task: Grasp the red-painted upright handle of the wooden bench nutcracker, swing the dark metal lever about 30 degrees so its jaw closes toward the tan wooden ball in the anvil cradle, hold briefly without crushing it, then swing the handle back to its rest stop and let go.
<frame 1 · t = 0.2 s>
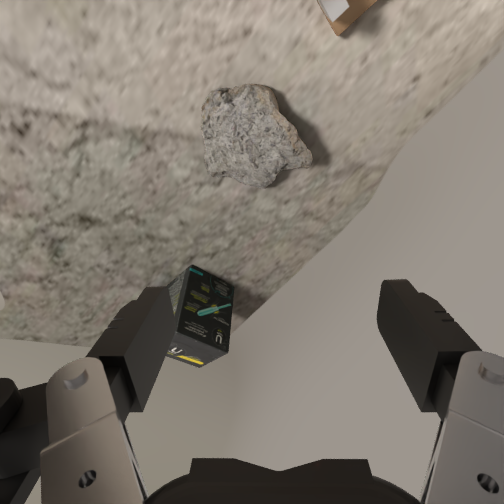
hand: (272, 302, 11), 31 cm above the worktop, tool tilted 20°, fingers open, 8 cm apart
tampon box: (201, 285, 61), on the worktop
rock: (254, 139, 39), on the worktop
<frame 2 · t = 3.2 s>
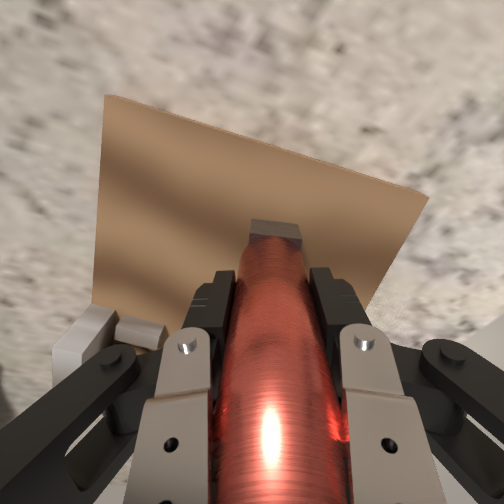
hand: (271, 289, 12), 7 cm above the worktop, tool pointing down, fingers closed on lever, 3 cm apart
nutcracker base: (225, 304, 21), on the worktop
lever: (240, 440, 13), point 9 cm above the worktop, hinge at 9.9°, touching gripper
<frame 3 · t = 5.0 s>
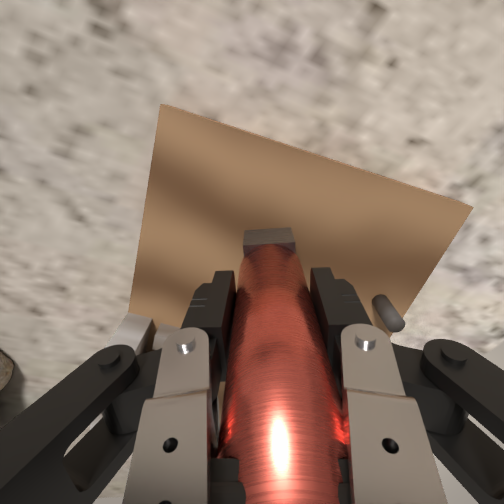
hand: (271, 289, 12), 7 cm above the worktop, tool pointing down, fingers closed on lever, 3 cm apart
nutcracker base: (260, 312, 21), on the worktop
lever: (270, 451, 13), point 9 cm above the worktop, hinge at 21.5°, touching gripper
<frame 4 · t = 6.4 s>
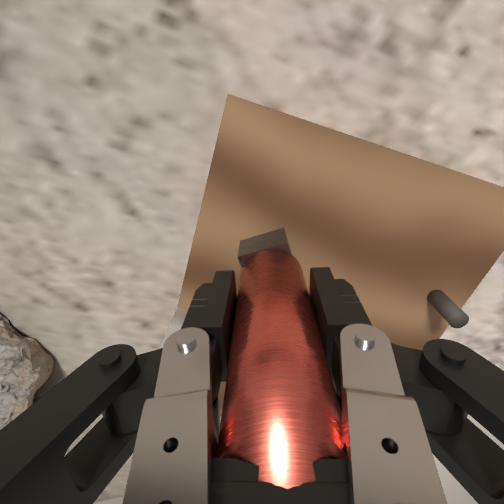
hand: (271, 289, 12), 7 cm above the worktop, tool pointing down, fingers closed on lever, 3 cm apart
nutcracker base: (308, 308, 20), on the worktop
lever: (309, 453, 13), point 9 cm above the worktop, hinge at 35.4°, touching gripper
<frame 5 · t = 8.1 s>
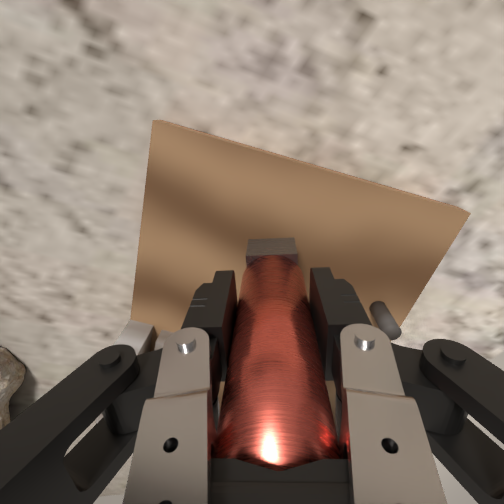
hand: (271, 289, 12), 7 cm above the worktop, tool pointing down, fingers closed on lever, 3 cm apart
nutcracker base: (259, 318, 21), on the worktop
lever: (269, 458, 14), point 9 cm above the worktop, hinge at 19.2°, touching gripper
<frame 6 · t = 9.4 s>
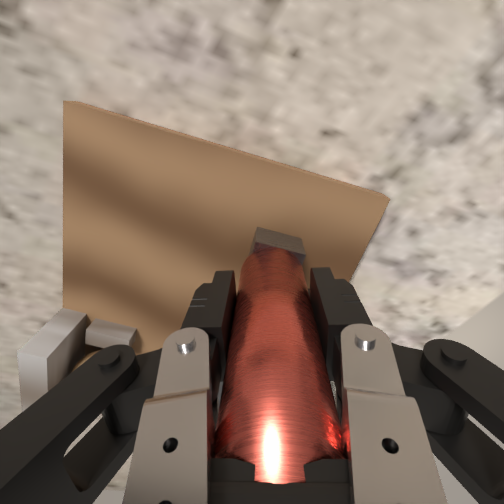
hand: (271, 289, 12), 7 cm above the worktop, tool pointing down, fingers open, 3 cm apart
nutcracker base: (197, 307, 21), on the worktop
lever: (219, 446, 13), point 9 cm above the worktop, hinge at 1.1°
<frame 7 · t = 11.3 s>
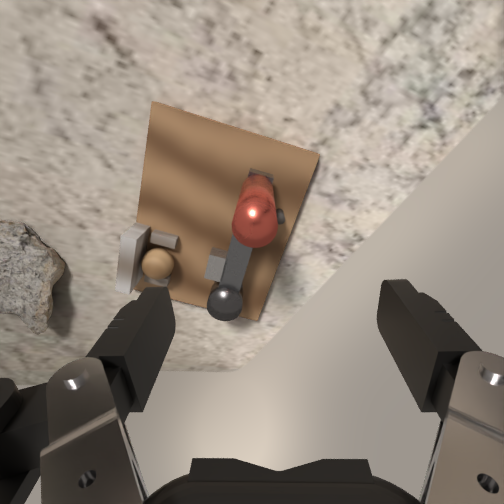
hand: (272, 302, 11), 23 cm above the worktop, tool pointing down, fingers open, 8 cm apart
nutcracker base: (214, 225, 35), on the worktop
lever: (230, 270, 27), point 9 cm above the worktop, hinge at 1.0°
rock: (24, 272, 39), on the worktop
tan wooden ball: (162, 256, 35), point 1 cm above the worktop, touching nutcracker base
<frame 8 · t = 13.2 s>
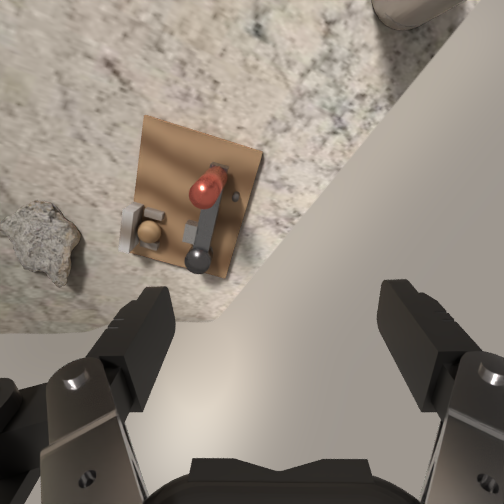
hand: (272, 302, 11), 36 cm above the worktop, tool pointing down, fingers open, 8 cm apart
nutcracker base: (191, 204, 47), on the worktop
lever: (197, 232, 40), point 9 cm above the worktop, hinge at 1.0°
rock: (50, 241, 52), on the worktop
tan wooden ball: (153, 227, 48), point 1 cm above the worktop, touching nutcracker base
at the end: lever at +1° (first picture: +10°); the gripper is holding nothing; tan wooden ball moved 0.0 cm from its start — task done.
